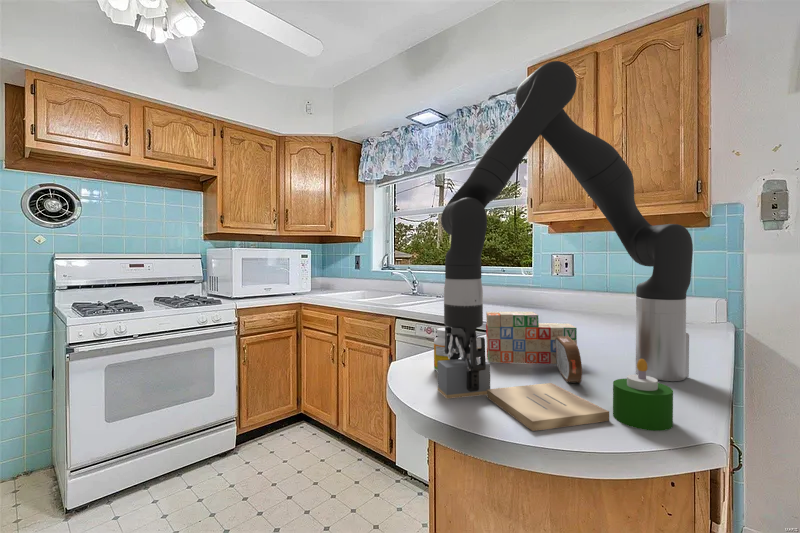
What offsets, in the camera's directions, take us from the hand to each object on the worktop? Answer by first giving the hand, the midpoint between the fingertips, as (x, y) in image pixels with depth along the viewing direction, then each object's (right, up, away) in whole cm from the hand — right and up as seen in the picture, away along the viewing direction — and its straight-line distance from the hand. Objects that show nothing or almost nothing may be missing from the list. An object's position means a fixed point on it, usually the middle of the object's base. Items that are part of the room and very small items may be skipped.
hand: (463, 383), depth 77 cm
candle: (+27, -2, -14) cm, 30 cm away
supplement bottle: (-2, -1, +15) cm, 15 cm away
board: (+13, -2, -9) cm, 15 cm away
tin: (+24, -1, +9) cm, 26 cm away
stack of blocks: (+21, -1, +23) cm, 31 cm away
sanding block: (0, -2, 0) cm, 2 cm away
